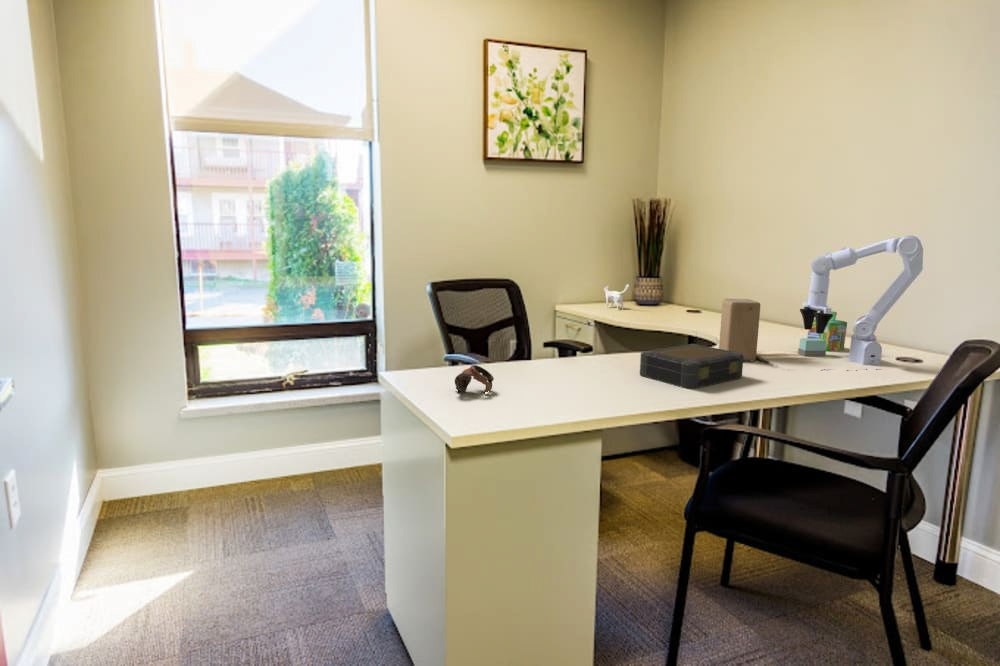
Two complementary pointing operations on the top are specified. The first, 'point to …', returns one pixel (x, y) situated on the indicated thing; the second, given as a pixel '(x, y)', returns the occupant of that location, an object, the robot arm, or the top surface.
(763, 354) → the board
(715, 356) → the cash box
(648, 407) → the top surface
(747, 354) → the wooden block
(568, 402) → the top surface
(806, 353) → the sanding block
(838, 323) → the chalk box
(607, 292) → the cat figurine
